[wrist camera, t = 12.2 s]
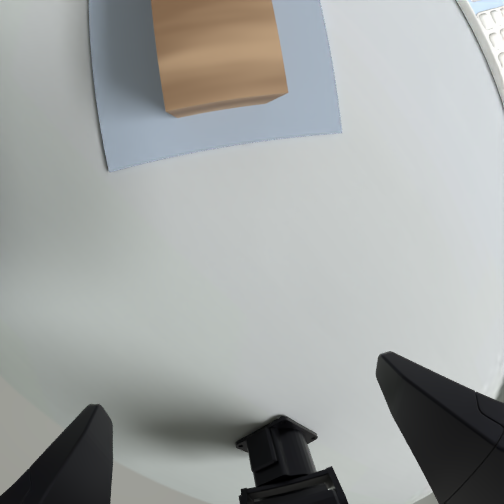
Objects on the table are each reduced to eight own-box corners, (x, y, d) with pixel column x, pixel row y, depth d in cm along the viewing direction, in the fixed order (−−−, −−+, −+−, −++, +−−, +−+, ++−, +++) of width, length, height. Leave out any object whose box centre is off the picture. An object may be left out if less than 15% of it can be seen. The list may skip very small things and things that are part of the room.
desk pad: (340, 133, 17) (342, 133, 17) (110, 171, 16) (109, 172, 16) (292, -85, 10) (293, -88, 10) (92, -59, 9) (91, -60, 9)
